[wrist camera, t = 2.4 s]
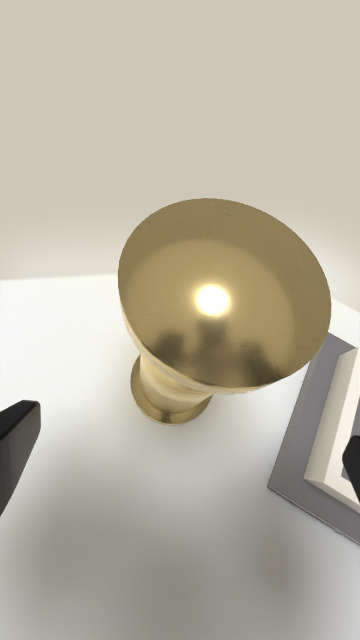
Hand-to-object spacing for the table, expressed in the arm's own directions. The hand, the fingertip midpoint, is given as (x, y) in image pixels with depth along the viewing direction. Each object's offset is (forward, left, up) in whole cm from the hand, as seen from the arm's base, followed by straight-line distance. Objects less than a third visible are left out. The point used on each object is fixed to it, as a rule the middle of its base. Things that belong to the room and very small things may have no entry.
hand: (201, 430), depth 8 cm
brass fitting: (+3, -2, -10) cm, 11 cm away
